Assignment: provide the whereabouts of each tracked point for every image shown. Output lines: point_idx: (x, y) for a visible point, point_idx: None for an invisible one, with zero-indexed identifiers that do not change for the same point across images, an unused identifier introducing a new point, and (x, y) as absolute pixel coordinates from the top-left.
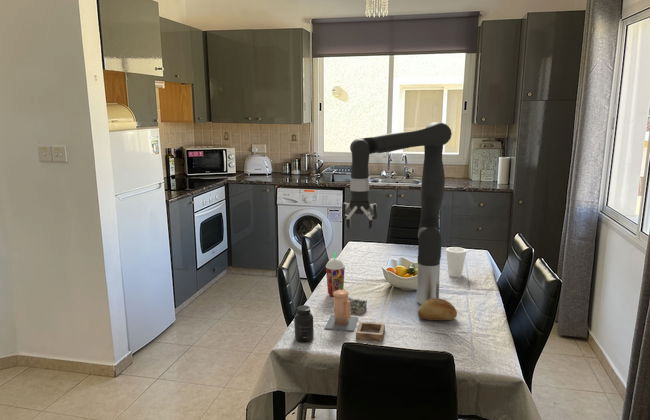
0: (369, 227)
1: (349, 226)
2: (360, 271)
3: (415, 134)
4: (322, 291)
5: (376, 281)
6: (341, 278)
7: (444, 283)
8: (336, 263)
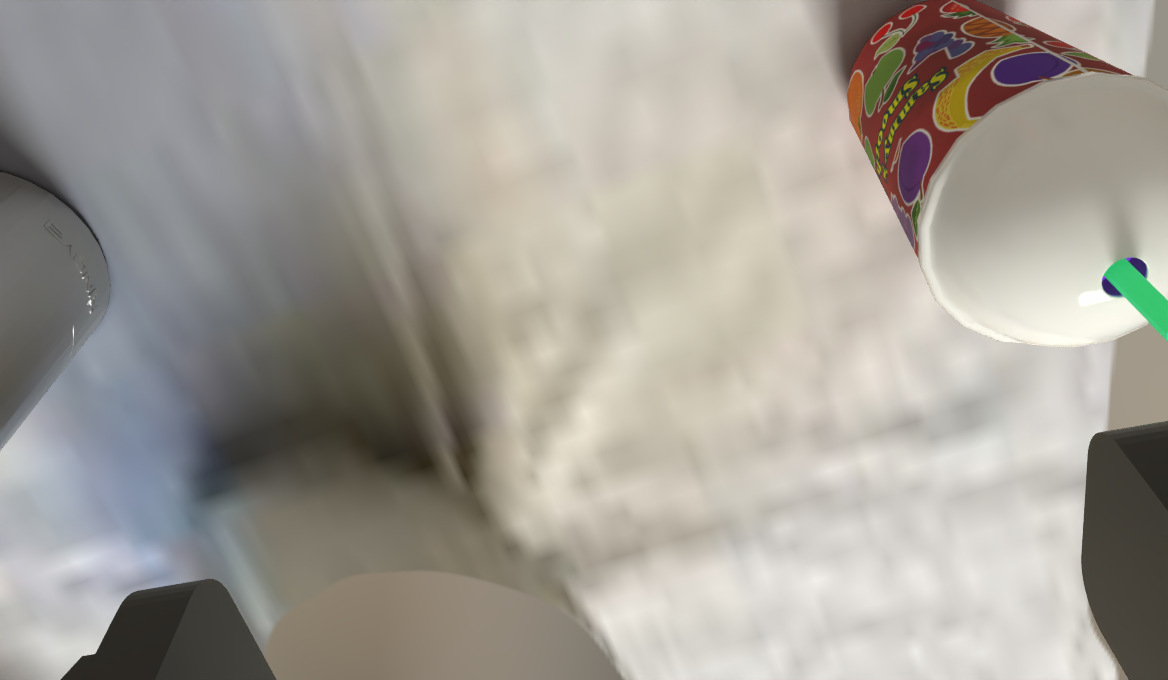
0: (152, 622)
1: (1151, 466)
2: (836, 669)
3: None
4: None
5: (631, 528)
6: (905, 114)
7: None
8: (1060, 165)
